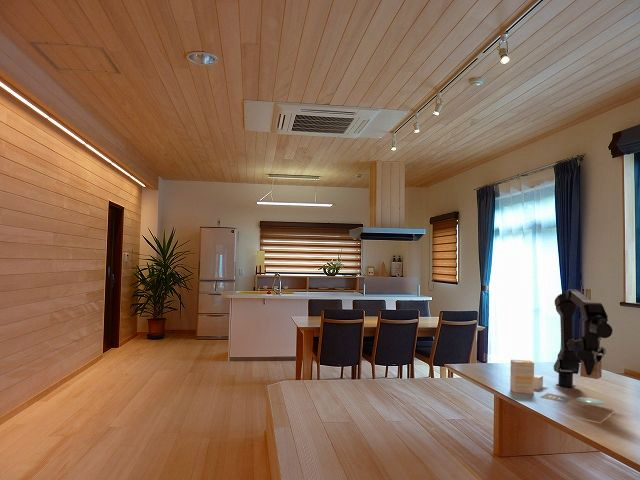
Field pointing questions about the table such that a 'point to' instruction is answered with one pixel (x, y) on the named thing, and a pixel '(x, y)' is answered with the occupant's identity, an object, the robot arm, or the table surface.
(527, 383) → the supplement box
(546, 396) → the tile
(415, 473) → the table surface
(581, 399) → the pale green disc
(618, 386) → the table surface
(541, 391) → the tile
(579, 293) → the robot arm
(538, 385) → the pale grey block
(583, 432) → the table surface
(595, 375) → the walnut block
